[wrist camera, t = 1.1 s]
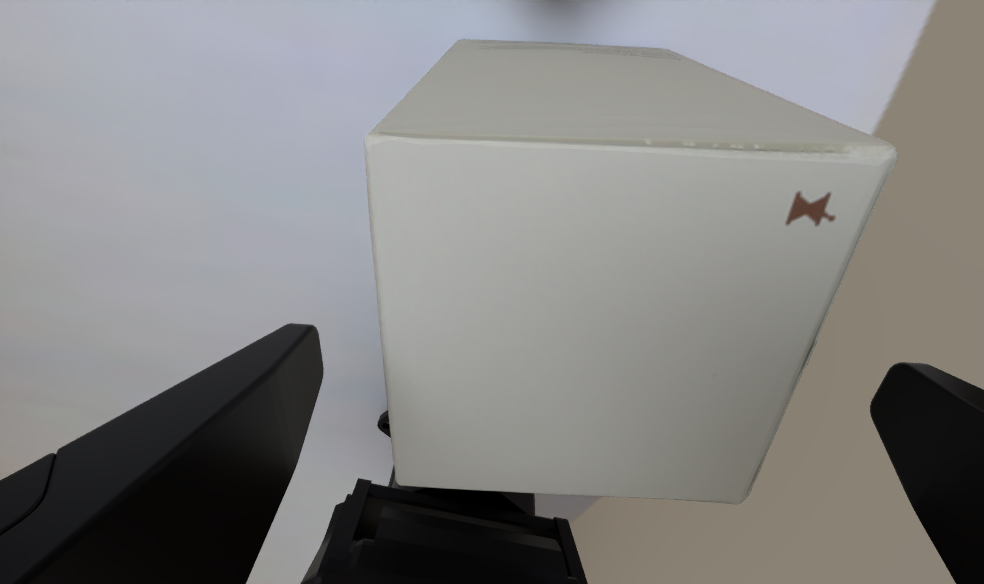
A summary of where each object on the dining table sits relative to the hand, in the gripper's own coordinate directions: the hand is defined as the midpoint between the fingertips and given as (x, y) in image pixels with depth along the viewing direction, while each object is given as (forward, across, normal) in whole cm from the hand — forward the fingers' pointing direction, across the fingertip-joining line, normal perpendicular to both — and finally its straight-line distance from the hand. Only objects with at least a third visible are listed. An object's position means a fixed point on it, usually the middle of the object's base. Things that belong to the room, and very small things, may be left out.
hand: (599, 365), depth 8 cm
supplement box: (+13, 0, 0) cm, 13 cm away
